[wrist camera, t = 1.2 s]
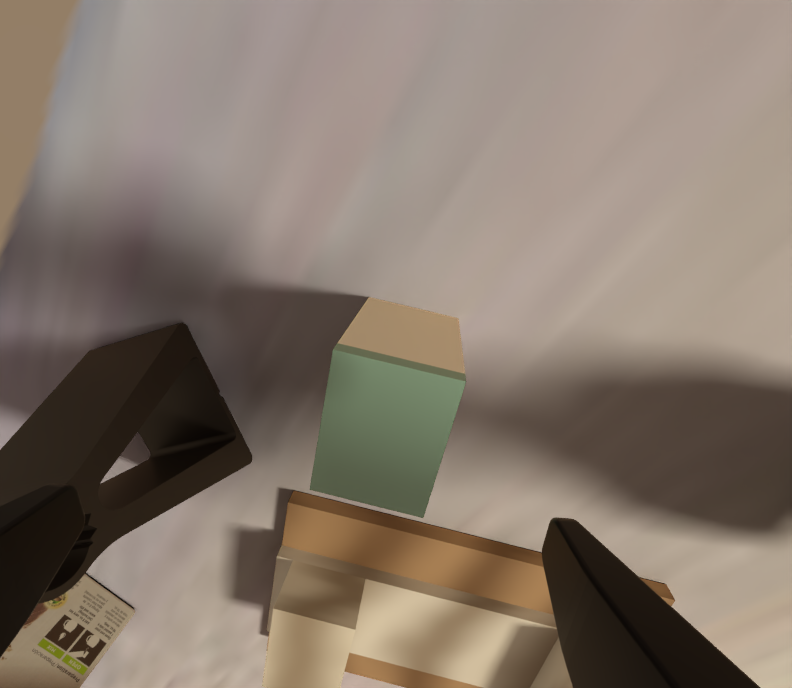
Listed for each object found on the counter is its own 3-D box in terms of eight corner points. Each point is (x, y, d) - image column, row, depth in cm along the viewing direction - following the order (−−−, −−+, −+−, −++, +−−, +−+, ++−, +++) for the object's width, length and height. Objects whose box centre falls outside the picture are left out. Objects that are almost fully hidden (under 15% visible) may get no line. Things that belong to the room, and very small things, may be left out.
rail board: (666, 584, 24) (717, 674, 20) (578, 716, 29) (602, 811, 25) (294, 490, 25) (260, 557, 20) (272, 636, 30) (241, 715, 25)
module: (458, 318, 20) (466, 381, 13) (429, 420, 22) (423, 517, 15) (369, 296, 20) (332, 349, 13) (348, 401, 22) (309, 489, 16)
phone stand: (254, 459, 24) (91, 690, 13) (170, 476, 25) (-44, 700, 14) (185, 320, 21) (-97, 463, 10) (95, 347, 23) (-245, 500, 11)
